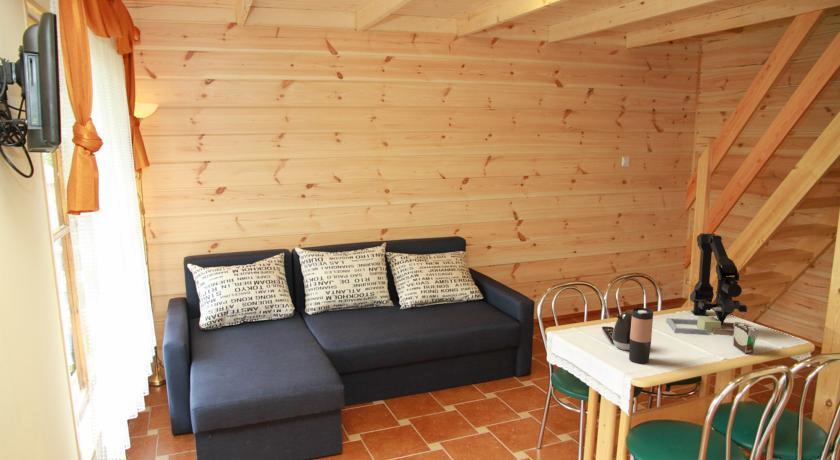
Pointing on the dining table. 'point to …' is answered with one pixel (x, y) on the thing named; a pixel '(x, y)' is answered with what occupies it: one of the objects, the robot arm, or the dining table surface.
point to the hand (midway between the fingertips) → (720, 324)
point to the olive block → (708, 323)
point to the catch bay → (676, 329)
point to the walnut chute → (725, 331)
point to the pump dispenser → (622, 331)
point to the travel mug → (640, 335)
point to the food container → (744, 337)
